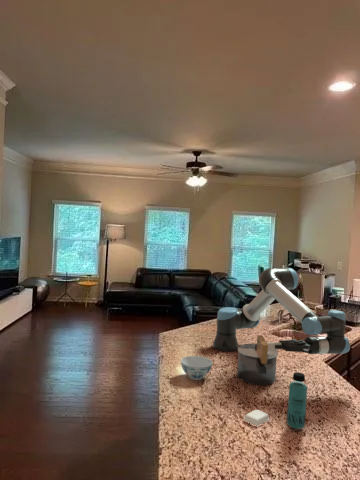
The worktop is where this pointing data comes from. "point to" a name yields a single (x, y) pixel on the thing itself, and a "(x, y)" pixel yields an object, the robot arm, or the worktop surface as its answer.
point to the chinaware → (196, 366)
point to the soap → (256, 417)
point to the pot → (256, 370)
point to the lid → (258, 350)
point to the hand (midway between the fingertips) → (267, 346)
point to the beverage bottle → (297, 402)
